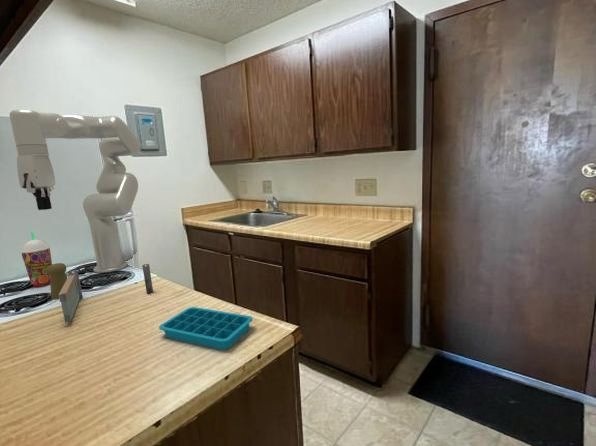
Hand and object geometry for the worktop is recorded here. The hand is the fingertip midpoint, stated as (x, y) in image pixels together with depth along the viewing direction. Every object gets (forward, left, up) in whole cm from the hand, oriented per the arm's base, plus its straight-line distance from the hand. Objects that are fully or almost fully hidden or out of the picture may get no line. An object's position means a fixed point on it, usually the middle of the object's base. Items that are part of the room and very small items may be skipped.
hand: (45, 209), depth 103 cm
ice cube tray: (+37, +55, -30) cm, 73 cm away
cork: (+2, +1, -29) cm, 29 cm away
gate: (+17, +13, -28) cm, 36 cm away
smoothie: (-12, -14, -29) cm, 35 cm away
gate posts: (+7, +20, -29) cm, 36 cm away
